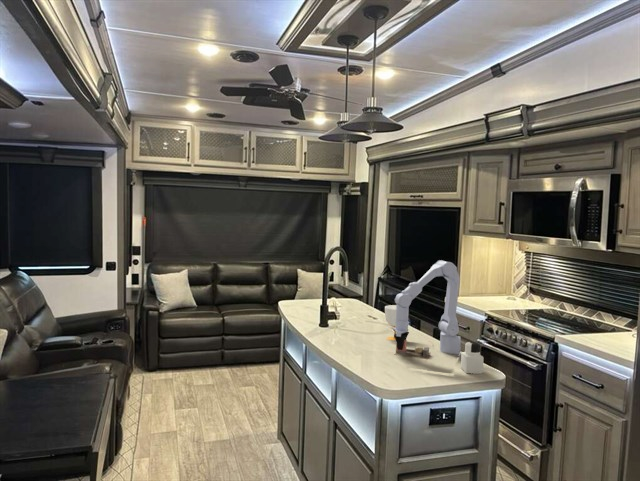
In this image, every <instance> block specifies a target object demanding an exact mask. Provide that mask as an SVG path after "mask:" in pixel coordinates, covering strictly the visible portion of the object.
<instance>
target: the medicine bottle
mask: <svg viewBox="0 0 640 481" xmlns="http://www.w3.org/2000/svg"><path fill="white" fill-rule="evenodd" d="M460 358H461V359H460V369H461V370H462V371H463V372H464V373H465V374H467V373H471V374H472V373H473V374H474V375H475V374H476V375H478V374H479V375H483V374H484V356H483V355H481V344H480V343H478V342H475V341H467V342H465V344H464V351H462V352H460ZM471 374H470V375H471ZM473 374H472V375H473Z"/></svg>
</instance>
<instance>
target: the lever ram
mask: <svg viewBox="0 0 640 481" xmlns="http://www.w3.org/2000/svg"><path fill="white" fill-rule="evenodd" d="M395 344H396V347H395V353H399V352H406V349H407V339H406V340H405V341H404V345H403V349H402V350H398V349H397V343H395Z"/></svg>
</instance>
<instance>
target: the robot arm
mask: <svg viewBox="0 0 640 481" xmlns="http://www.w3.org/2000/svg"><path fill="white" fill-rule="evenodd" d="M436 277H443V278H444V279H445V280H446V282H447V283H446V284H447V286H446V294H445V303H444V311H443V312H444V313H443V314H442V315H441V317H440V321H439V322H438V325H437V326H438V329H439V330H440V338H439V351H440V353H444V354H451V355H452V354H453V355H456V357H457V358H458V357H460V356H461V350H462V348H461V342H462V341H461V336H459V335H458V334H459V331H460V327H459V321H458V318H457V308H458V299H459V290H460V289H459V288H460V281H461V278H460V275H459V272H458V267H457V266H456V265H455V264H454V263H453V262H451V261H445V260H442V259H441V260H440V259H439V260H437V261H436V262H435V263H434V264H432V266H430V269H429V270H427V271H426V273H424V274H423V276H422V277H421V278H420V279H418V280H417V281H413V282H410V283H409V284H408V286H407V287H406V288H404V290H402V291H401V292H400V293H397V294H396V296H395V298H394V303H395V305H396V328H394V327H392V330H395V331H396V334H394V333H393V337H395V339H396V340H395V342H396V343H397V349H398V350H402V349H403V345H404V341H405V340H407V338H408V336H409V333H410V332H409V313H410V311H409V307H410V305H411V303H412V301H413V300H414V299H415V298H416V297H417V296H419V294H421V292H423V287H424V286H426V285H427V284H429V282H431V281H432V280H433V279H434V278H436ZM396 343H395V344H396Z"/></svg>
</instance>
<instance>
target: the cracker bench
mask: <svg viewBox="0 0 640 481" xmlns="http://www.w3.org/2000/svg"><path fill="white" fill-rule="evenodd" d="M430 355H431V352H430V347H423V355H422V354H415V349H412V348H406V352H399V353H396V352H395V353H394V356H399V357H406V358H414V359H422V360H423V359H424V360H428V359H429V357H430Z"/></svg>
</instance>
